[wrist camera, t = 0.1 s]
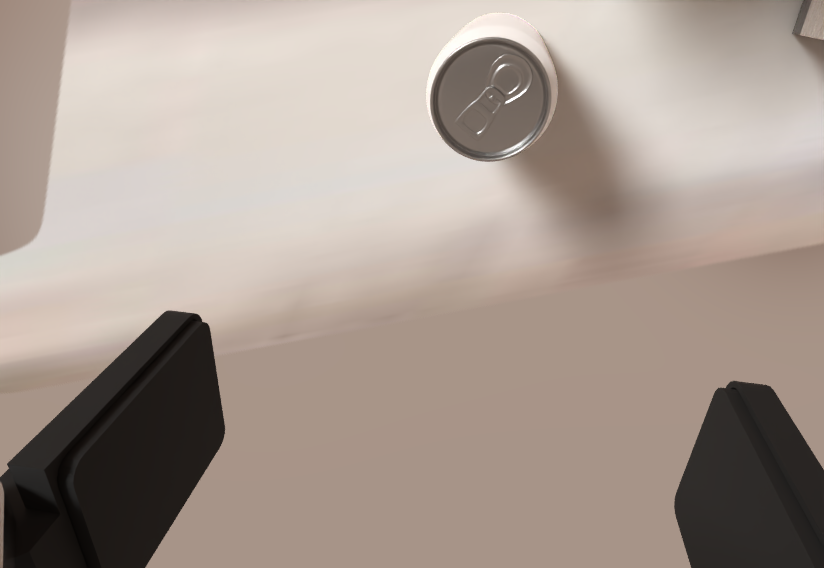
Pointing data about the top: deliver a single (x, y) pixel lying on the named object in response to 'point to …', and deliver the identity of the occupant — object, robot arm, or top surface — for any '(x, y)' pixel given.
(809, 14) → the grey box with opening
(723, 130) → the top surface
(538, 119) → the can
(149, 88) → the top surface
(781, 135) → the top surface
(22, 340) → the top surface
